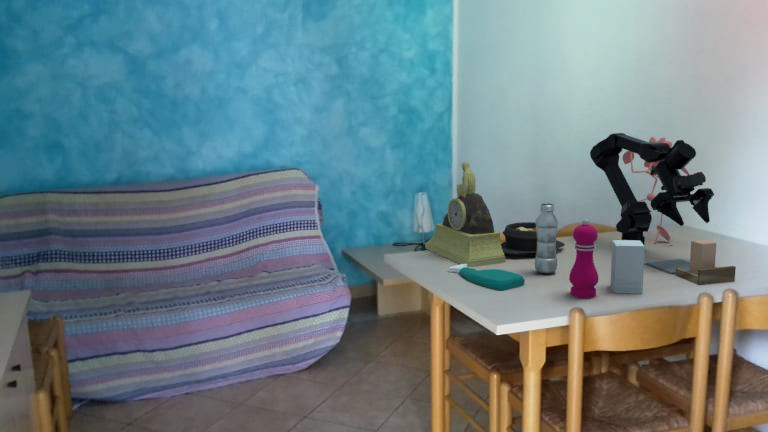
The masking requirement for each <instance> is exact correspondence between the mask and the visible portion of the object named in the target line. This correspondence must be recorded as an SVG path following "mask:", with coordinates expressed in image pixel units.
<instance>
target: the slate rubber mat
mask: <svg viewBox="0 0 768 432" xmlns="http://www.w3.org/2000/svg"><path fill="white" fill-rule="evenodd" d="M644 265H647V266H650V267H652V268H655V269H657V270H660V271H662V272H665V273H667V274H669V275H676V268H680V269H683V270H686V271H688V272H689V269H690V261H687V260H684V259H681V258H677V259H669V260H658V261H647V262H646V261H645V262H644Z"/></svg>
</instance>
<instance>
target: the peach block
mask: <svg viewBox="0 0 768 432" xmlns="http://www.w3.org/2000/svg"><path fill="white" fill-rule="evenodd" d="M716 253H717V242H714V241H712V240H708V239H698V240H697V239H696V240H691V241H690V255H689V256H690V257H689V258H690V259H689V262H690V269H689V272H691V273H694V274H696V275H698V269H706V268H715V267H716V255H717V254H716Z"/></svg>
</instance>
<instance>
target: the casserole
mask: <svg viewBox="0 0 768 432" xmlns="http://www.w3.org/2000/svg"><path fill="white" fill-rule="evenodd" d="M502 234H503V236H504V239H505V241H503V242H502V243H501V242H500V243H501V247H502V250H503V253H504V254H507V255H520V256H527V257H528V256H530V257H531V256H536V251H537V233H536V224H535V222H530V221H529V222H527V221H526V222H523V221H522V222H515V223H510V224H507V225H506V226H505V227H504V230H503V231H502ZM564 246H566V244H565V242H562V241H560V240H557V239H556V251H557V250H559V248H562V247H564Z"/></svg>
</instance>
